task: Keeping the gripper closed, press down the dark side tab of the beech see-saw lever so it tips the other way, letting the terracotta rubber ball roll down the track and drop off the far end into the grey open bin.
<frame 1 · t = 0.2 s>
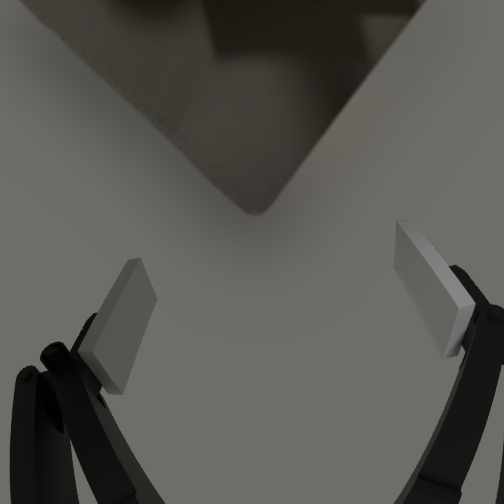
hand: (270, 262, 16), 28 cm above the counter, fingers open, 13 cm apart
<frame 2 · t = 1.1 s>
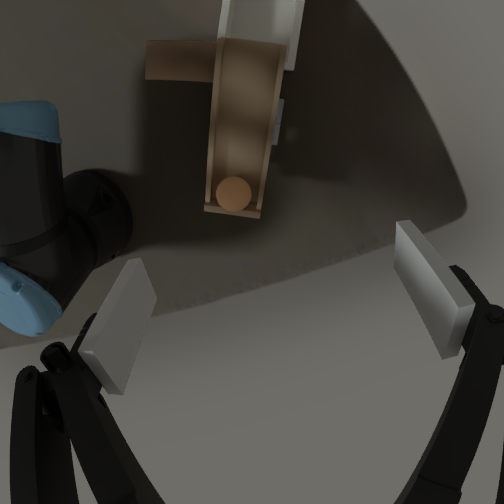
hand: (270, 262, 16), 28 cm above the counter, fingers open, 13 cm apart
grey open bin: (262, 23, 32), on the counter
ball: (233, 194, 33), point 10 cm above the counter, tilted 16°, touching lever
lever: (207, 123, 30), point 9 cm above the counter, hinge at -10.0°, touching ball
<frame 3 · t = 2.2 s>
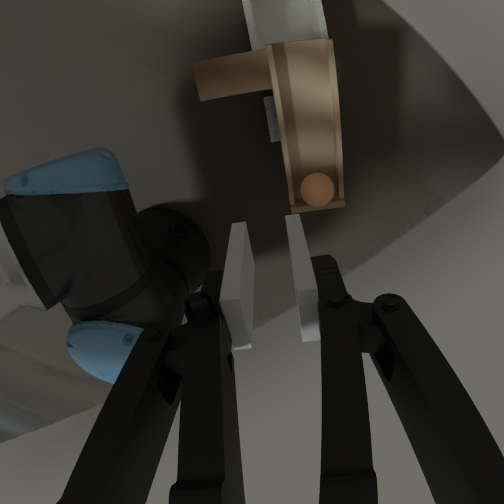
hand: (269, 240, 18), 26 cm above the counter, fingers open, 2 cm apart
fulcrum: (298, 115, 39), on the counter
grey open bin: (282, 23, 32), on the counter
ball: (317, 189, 33), point 10 cm above the counter, tilted 16°, touching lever
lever: (274, 129, 31), point 9 cm above the counter, hinge at -10.0°, touching ball
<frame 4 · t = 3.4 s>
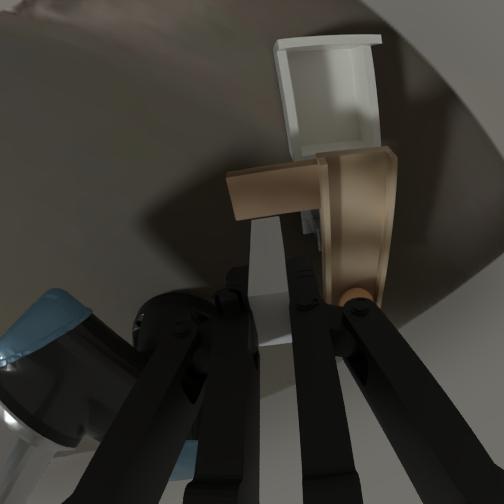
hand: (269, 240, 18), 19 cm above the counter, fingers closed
fulcrum: (333, 204, 37), on the counter
grey open bin: (322, 96, 30), on the counter
ball: (356, 305, 31), point 10 cm above the counter, tilted 16°, touching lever
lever: (316, 246, 29), point 9 cm above the counter, hinge at -10.0°, touching ball
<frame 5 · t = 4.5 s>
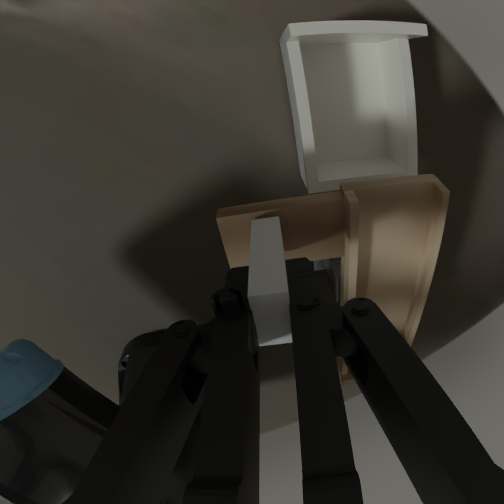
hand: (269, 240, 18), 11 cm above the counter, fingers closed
fulcrum: (352, 235, 30), on the counter
grey open bin: (342, 101, 24), on the counter
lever: (334, 299, 23), point 9 cm above the counter, hinge at -8.3°, touching ball, gripper
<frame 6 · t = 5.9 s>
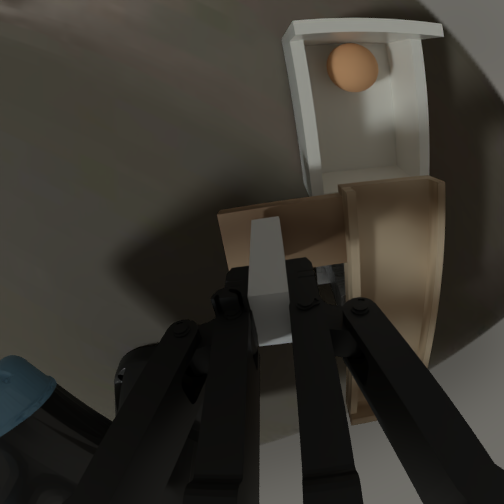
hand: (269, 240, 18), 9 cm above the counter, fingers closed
fulcrum: (357, 247, 28), on the counter
grey open bin: (348, 106, 22), on the counter
ball: (352, 67, 19), point 2 cm above the counter, tilted 51°, touching grey open bin
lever: (340, 320, 21), point 9 cm above the counter, hinge at 8.2°, touching gripper
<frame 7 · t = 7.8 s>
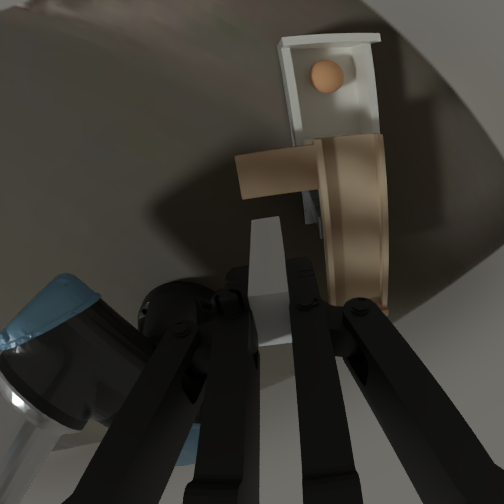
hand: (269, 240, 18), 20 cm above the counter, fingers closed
fulcrum: (335, 195, 38), on the counter
grey open bin: (324, 91, 32), on the counter
ball: (326, 76, 29), point 2 cm above the counter, tilted 12°, touching grey open bin
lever: (318, 234, 31), point 9 cm above the counter, hinge at 8.2°
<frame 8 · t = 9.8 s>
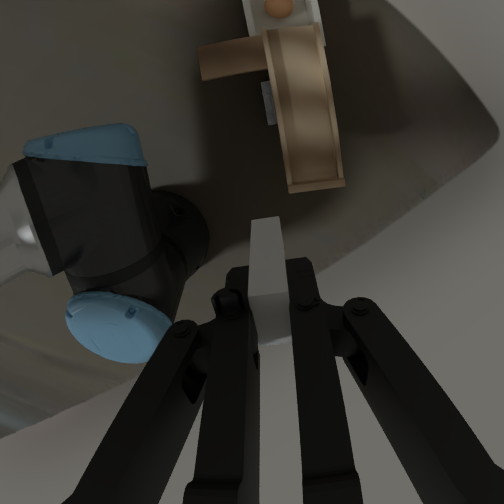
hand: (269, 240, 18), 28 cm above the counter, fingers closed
fulcrum: (294, 99, 39), on the counter
grey open bin: (278, 12, 33), on the counter
ball: (279, 5, 31), point 2 cm above the counter, tilted 30°, touching grey open bin
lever: (270, 109, 32), point 9 cm above the counter, hinge at 8.2°
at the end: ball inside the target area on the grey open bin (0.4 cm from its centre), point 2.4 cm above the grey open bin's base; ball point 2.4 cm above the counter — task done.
